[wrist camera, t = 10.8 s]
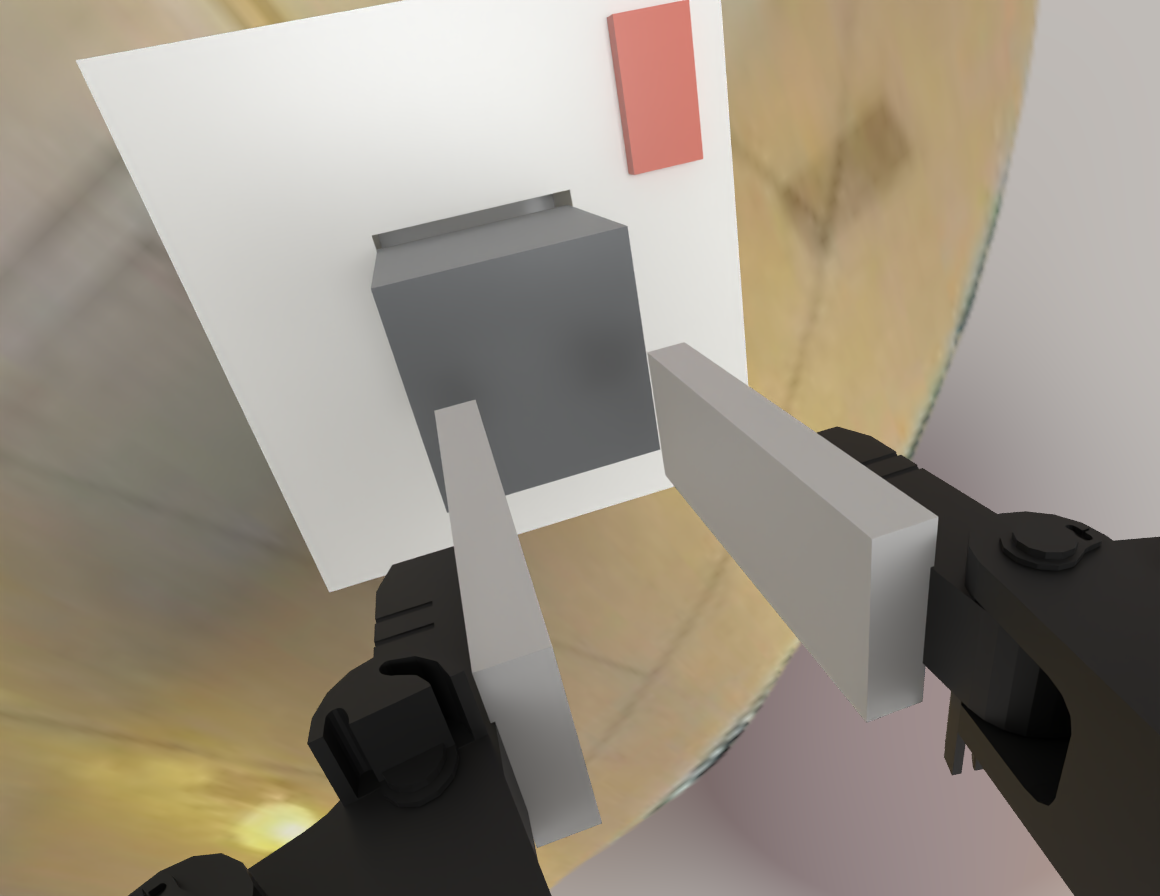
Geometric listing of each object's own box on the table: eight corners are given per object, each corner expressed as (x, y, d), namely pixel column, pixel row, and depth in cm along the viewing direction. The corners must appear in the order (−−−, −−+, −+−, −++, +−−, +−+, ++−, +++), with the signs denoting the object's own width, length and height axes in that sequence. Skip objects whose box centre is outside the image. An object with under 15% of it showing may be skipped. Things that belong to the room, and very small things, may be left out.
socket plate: (336, 543, 28) (328, 602, 24) (125, 73, 20) (65, 57, 16) (717, 430, 31) (760, 468, 27) (672, -30, 22) (726, -63, 19)
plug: (429, 386, 26) (447, 512, 17) (380, 233, 23) (370, 288, 14) (573, 348, 27) (660, 449, 18) (542, 195, 24) (627, 226, 15)
